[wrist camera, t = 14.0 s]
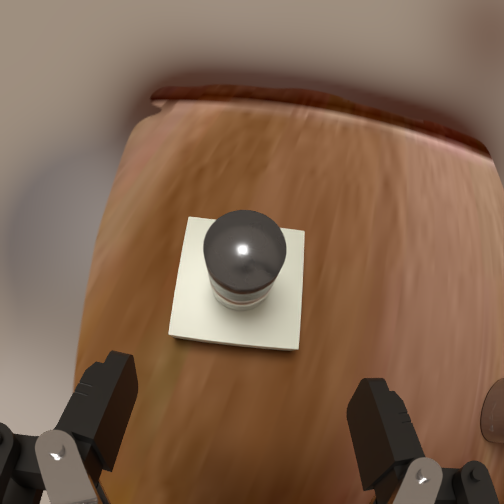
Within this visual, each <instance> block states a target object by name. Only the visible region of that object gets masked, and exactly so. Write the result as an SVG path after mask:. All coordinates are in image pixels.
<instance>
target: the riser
mask: <svg viewBox="0 0 504 504" xmlns="http://www.w3.org/2000/svg"><path fill="white" fill-rule="evenodd" d="M215 221H216V220H213V219H204V218H195V217H189V218H188V223H187V228H186V233H185V238H184V243H183V249H182V254H181V259H180V265H179V271H178V276H177V282H176V288H175V294H174V300H173V307H172V313H171V320H170V327H169V334H168V335H170V336H172V337H174V338H180V339H187V340H193V341H201V342H208V343H216V344H224V345H232V346H241V347H251V348H262V349H273V350H286V351H293V350H297V349H299V335H300V320H301V303H302V284H303V262H304V232H305V231H300V230H292V229H285V228H280V229H281V231H282V233H283V235H284V237H285V241H286V247H287V253H286V258H285V262H284V264H283V266H282V268H281V270H280V272H279V274H278V276H277V278H276V280H275V282H274V284H273V286H272V288H271V290H270V291H269V293H268V295H267V297H266V299H265V300H264V301H263V302H262V303H261V304H260V305H259V306H257V307H255V308H253V309H251V310H247V311H235V310H231V309H229V308H227V307H225V306H223V305H222V304H221V303H220V302H219V301H218V300H217V299H216V298H215V296H214V294H213V292H212V289H211V284H210V280H209V276H208V272H207V267H206V263H205V259H204V253H203V243H204V238H205V235H206V233H207V231H208V229H209V228H210V226H211V225H212V224H213V223H214V222H215Z"/></svg>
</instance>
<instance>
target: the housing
mask: <svg viewBox="0 0 504 504" xmlns="http://www.w3.org/2000/svg"><path fill="white" fill-rule="evenodd" d="M203 253H204V259H205V263H206V267H207V272H208V276H209V280H210V284H211V289H212V292H213V294H214V296H215V298H216V299H217V300H218V301H219V302H220V303H221V304H222V305H223V306H225V307H227V308H229V309H231V310H235V311H247V310H251V309H253V308H255V307H257V306H259V305H260V304H261V303H262V302H263V301H264V300H265V299H266V297H267V295H268V293H269V291H270V290H271V288H272V286H273V284H274V282H275V280H276V278H277V276H278V274H279V272H280V270H281V268H282V266H283V264H284V262H285V258H286V253H287V247H286V241H285V237H284V235H283V233H282V231H281V229H280V228H279V227H278V225H277V224H276V223H275V222H274V221H273V220H272V219H270V218H269V217H267V216H266V215H264V214H261V213H259V212H256V211H251V210H238V211H233V212H229V213H227V214H225V215H223V216H221V217H220V218H218V219H217V220H216V221H215V222H214V223H213V224H212V225H211V226H210V228H209V229H208V231H207V233H206V235H205V238H204V243H203Z"/></svg>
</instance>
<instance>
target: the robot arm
mask: <svg viewBox="0 0 504 504" xmlns="http://www.w3.org/2000/svg"><path fill="white" fill-rule="evenodd" d="M137 393H138V380H137V375H136V369H135V363H134V357H133V355H130V354H126V353H121V352H117V351H111V352H110V353H109V355H108V356H107V358H106V360H105V362H104V363H100V362H95V363H94V364H93V365H91V366H90V367H89V368H88V369H86V370H85V372H84V374H83V376H82V378H81V380H80V383H79V384H78V385H77V387H76V389H75V392H74V393H73V394H72V396H71V398H70V400H69V402H68V404H67V406H66V408H65V410H64V412H63V414H62V416H61V418H60V420H59V422H58V424H57V425H56V427H55V428H54V429H53V430H50V431H46V432H44V433H43V434H41V435H40V436H28V435H19V434H13V433H12V431H11V430H10V429H9V428H8V427H7V426H6V425H5V424H3V423H0V504H40V500H41V496H42V493H43V490H46V491H47V494H48V497H49V499H50V502H51V504H111V503H110V501H109V499H108V497H107V494H106V492H105V490H104V488H103V486H102V484H101V482H100V479H99V478H100V475H101V472H102V469H103V470H107V471H110V472H112V470H113V467H114V464H115V461H116V457H117V454H118V451H119V448H120V445H121V442H122V439H123V436H124V433H125V430H126V427H127V424H128V421H129V418H130V415H131V412H132V410H133V407H134V404H135V401H136V398H137ZM347 421H348V425H349V429H350V433H351V437H352V442H353V446H354V450H355V455H356V459H357V463H358V468H359V472H360V477H361V481H362V486H363V491H366V490H372V489H374V490H375V494H376V495H375V496H374V497H373V498H372V500H371V502H370V503H369V504H499V501H498V498H497V495H496V492H495V489H494V486H493V483H492V480H491V478H490V475H489V472H488V470H487V468H486V467H485V465H484V464H482V463H481V462H478V461H470V462H468V463H466V464H465V465H464V466H463V467H462V468H461V469H454V468H441V467H440V466H439V464H438V463H437V462H436V461H434V460H432V459H430V458H426V457H425V455H424V453H423V450H422V447H421V445H420V442H419V439H418V437H417V434H416V432H415V429H414V427H413V424H412V423H411V419H410V417H409V414H407V409H406V407H405V405H404V402H403V400H402V399H401V398H400V397H399V396H398V395H397V394H396V393H395V391H389V388H388V386H387V383H386V381H385V380H384V379H383V378H364V379H362V380H361V382H360V383H359V385H358V387H357V389H356V391H355V393H354V395H353V396H352V398H351V400H350V402H349V404H348V407H347ZM481 429H482V433H483V435H484V437H485V439H487V440H488V441H490V442H498V443H504V378H502V379H500V380H498V381H497V382H496V383H495V384H494V385H493V387H492V388H491V389H490V391H489V393H488V395H487V397H486V400H485V403H484V406H483V410H482V416H481Z"/></svg>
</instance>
